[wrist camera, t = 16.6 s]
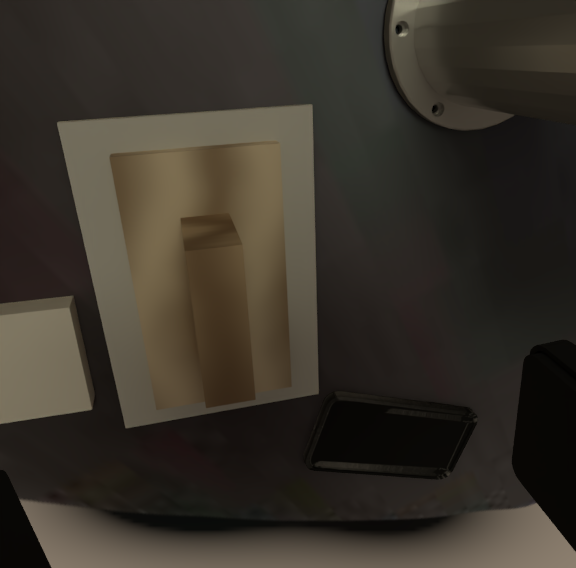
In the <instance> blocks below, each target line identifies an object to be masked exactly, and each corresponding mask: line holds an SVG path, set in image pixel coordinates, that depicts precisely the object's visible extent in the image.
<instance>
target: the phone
mask: <svg viewBox="0 0 576 568" xmlns="http://www.w3.org/2000/svg"><path fill="white" fill-rule="evenodd" d="M477 421H478V417H477V415H476V414H475V413H474V412H473V411H472V410H471V409H470V408H468V407H462V406H454V405H446V404H438V403H431V402H422V401H414V400H407V399H399V398H391V397H383V396H375V395H367V394H359V393H352V392H344V391H336V392H332V393H331V394H329V395H328V396H327V397H326V398H325V399H324V401H323V404H322V407H321V409H320V412H319V414H318V417H317V420H316V422H315V425H314V428H313V430H312V433H311V436H310V438H309V441H308V444H307V446H306V449H305V452H304V455H303V457H304V461H305V464H306V466H307V467H308V468H309V469H310V470H314V471H327V472H341V473H355V474H369V475H383V476H397V477H411V478H425V479H443V478H446V477H447V476H449V475H450V474H451V473H452V471H453V469H454V467H455V465H456V463H457V461H458V460H459V458H460V456H461V454H462V452H463V450H464V448H465V446H466V444H467V442H468V440H469V438H470V436H471V434H472V432H473V430H474V428H475V426H476V424H477ZM317 423H318V424H317ZM316 426H317V427H316ZM315 428H316V430H315Z"/></svg>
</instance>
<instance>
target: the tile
mask: <svg viewBox="0 0 576 568" xmlns="http://www.w3.org/2000/svg"><path fill="white" fill-rule="evenodd" d="M94 397H95V392H94V388H93V383H92V379H91V374H90V369H89V365H88V360H87V356H86V351H85V347H84V342H83V338H82V333H81V328H80V324H79V319H78V315H77V310H76V306H75V301H74V297H73V296H67V297H58V298H49V299H40V300H31V301H22V302H13V303H4V304H0V424H2V423H9V422H15V421H22V420H28V419H35V418H41V417H48V416H54V415H61V414H67V413H74V412H80V411H87V410H92V408H93V402H94Z"/></svg>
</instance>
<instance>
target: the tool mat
mask: <svg viewBox="0 0 576 568" xmlns="http://www.w3.org/2000/svg"><path fill="white" fill-rule="evenodd" d="M57 125H58V129H59V134H60V138H61V143H62V147H63V151H64V156H65V160H66V165H67V169H68V174H69V178H70V183H71V187H72V192H73V196H74V200H75V205H76V209H77V214H78V218H79V223H80V227H81V232H82V236H83V241H84V245H85V249H86V254H87V258H88V263H89V267H90V272H91V276H92V281H93V285H94V289H95V294H96V298H97V303H98V307H99V312H100V316H101V321H102V325H103V330H104V334H105V338H106V343H107V347H108V352H109V356H110V361H111V365H112V370H113V374H114V379H115V383H116V387H117V392H118V396H119V401H120V405H121V410H122V414H123V419H124V423H125V427H126V428H131V427H136V426H142V425H147V424H153V423H159V422H164V421H170V420H175V419H181V418H187V417H192V416H198V415H203V414H209V413H215V412H220V411H226V410H231V409H237V408H242V407H248V406H254V405H259V404H265V403H270V402H276V401H282V400H287V399H293V398H298V397H304V396H310V395H315V394H319V381H318V336H317V292H316V247H315V202H314V157H313V112H312V105H311V104H303V105H289V106H275V107H260V108H246V109H232V110H217V111H203V112H189V113H174V114H160V115H146V116H131V117H117V118H103V119H88V120H74V121H60V122H58V123H57ZM274 140H276V141H278V142H279V143H280V150H281V171H282V192H283V213H284V234H285V255H286V277H287V298H288V319H289V340H290V361H291V382H292V387H287V388H282V389H276V390H270V391H264V392H258V393H255V397H256V400H251V401H245V402H239V403H234V404H228V405H222V406H216V407H211V408H206V405H205V402H201V403H195V404H189V405H183V406H178V407H172V408H166V409H160V410H156V405H155V399H154V394H153V389H152V383H151V378H150V373H149V367H148V362H147V356H146V351H145V346H144V340H143V335H142V330H141V324H140V319H139V314H138V308H137V303H136V298H135V292H134V287H133V281H132V276H131V271H130V265H129V260H128V255H127V249H126V244H125V239H124V233H123V228H122V223H121V217H120V212H119V206H118V201H117V196H116V190H115V185H114V180H113V174H112V169H111V164H110V158H109V157H110V155H111V154H113V153H125V152H137V151H150V150H162V149H175V148H187V147H199V146H212V145H224V144H237V143H249V142H261V141H274Z"/></svg>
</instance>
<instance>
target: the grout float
mask: <svg viewBox="0 0 576 568" xmlns="http://www.w3.org/2000/svg"><path fill="white" fill-rule="evenodd" d="M109 158H110V164H111V169H112V174H113V180H114V185H115V190H116V196H117V201H118V206H119V212H120V217H121V223H122V228H123V233H124V239H125V244H126V249H127V255H128V260H129V265H130V271H131V276H132V281H133V287H134V292H135V298H136V303H137V308H138V314H139V319H140V324H141V330H142V335H143V340H144V346H145V351H146V356H147V362H148V367H149V373H150V378H151V383H152V389H153V394H154V399H155V405H156V410H160V409H166V408H172V407H178V406H183V405H189V404H195V403H201V402H205V405H206V408H211V407H216V406H222V405H228V404H234V403H239V402H245V401H251V400H256V397H255V393H258V392H264V391H270V390H276V389H282V388H287V387H292V382H291V361H290V340H289V319H288V298H287V277H286V255H285V234H284V213H283V192H282V171H281V150H280V143H279V142H278V141H276V140H274V141H261V142H249V143H237V144H224V145H212V146H199V147H187V148H175V149H162V150H150V151H137V152H125V153H113V154H111V155H110V157H109Z"/></svg>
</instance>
